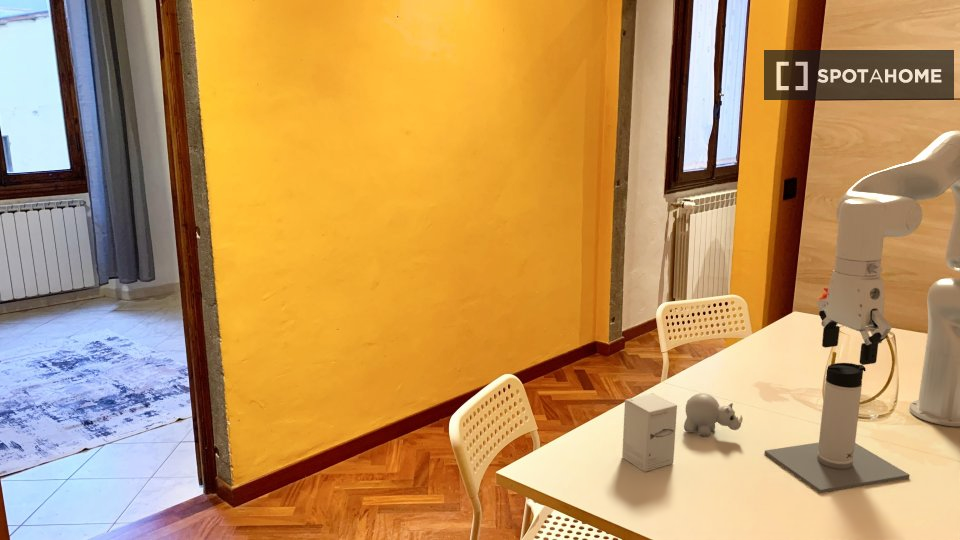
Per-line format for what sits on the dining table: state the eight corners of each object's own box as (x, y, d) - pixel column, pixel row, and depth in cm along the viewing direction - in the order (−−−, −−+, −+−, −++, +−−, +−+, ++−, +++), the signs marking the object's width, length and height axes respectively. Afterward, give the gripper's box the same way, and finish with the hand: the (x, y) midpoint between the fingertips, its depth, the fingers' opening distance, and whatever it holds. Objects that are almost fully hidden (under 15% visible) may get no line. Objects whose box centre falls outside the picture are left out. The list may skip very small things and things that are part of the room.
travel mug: (858, 471, 140) (870, 372, 136) (821, 468, 141) (831, 370, 137) (849, 456, 146) (860, 360, 142) (813, 453, 147) (823, 358, 143)
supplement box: (645, 473, 142) (648, 412, 139) (621, 457, 148) (623, 398, 145) (674, 464, 145) (678, 404, 142) (649, 449, 151) (652, 391, 148)
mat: (846, 441, 154) (847, 438, 154) (909, 478, 139) (909, 474, 139) (764, 454, 149) (764, 450, 149) (819, 493, 134) (820, 489, 134)
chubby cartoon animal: (735, 448, 152) (738, 409, 150) (678, 433, 158) (681, 396, 157) (745, 435, 157) (748, 398, 155) (690, 421, 164) (693, 385, 162)
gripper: (912, 275, 128) (901, 368, 132) (840, 255, 144) (832, 338, 148) (876, 279, 126) (866, 373, 130) (807, 258, 142) (800, 342, 146)
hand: (848, 354), depth 139 cm, fingers open, 9 cm apart
